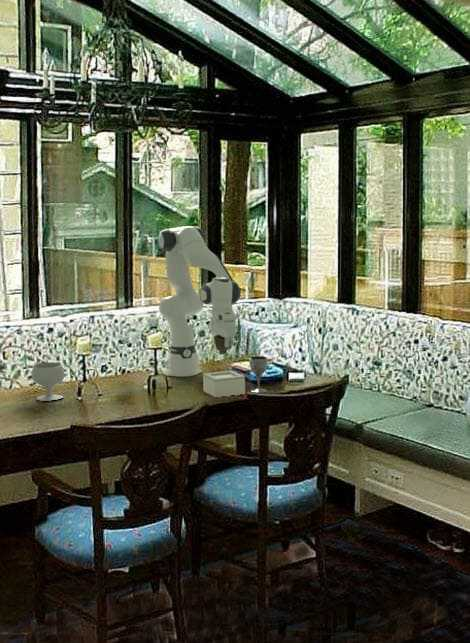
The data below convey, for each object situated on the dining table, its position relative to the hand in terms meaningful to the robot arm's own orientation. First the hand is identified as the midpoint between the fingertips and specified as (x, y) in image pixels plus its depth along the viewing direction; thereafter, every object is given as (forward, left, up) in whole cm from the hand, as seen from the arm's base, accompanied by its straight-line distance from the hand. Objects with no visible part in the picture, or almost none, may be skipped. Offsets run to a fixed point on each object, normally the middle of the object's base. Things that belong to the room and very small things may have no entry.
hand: (222, 345), depth 389 cm
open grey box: (0, 0, -21) cm, 21 cm away
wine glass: (+4, +15, -21) cm, 26 cm away
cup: (0, 0, -4) cm, 4 cm away
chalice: (-24, -72, -21) cm, 79 cm away
